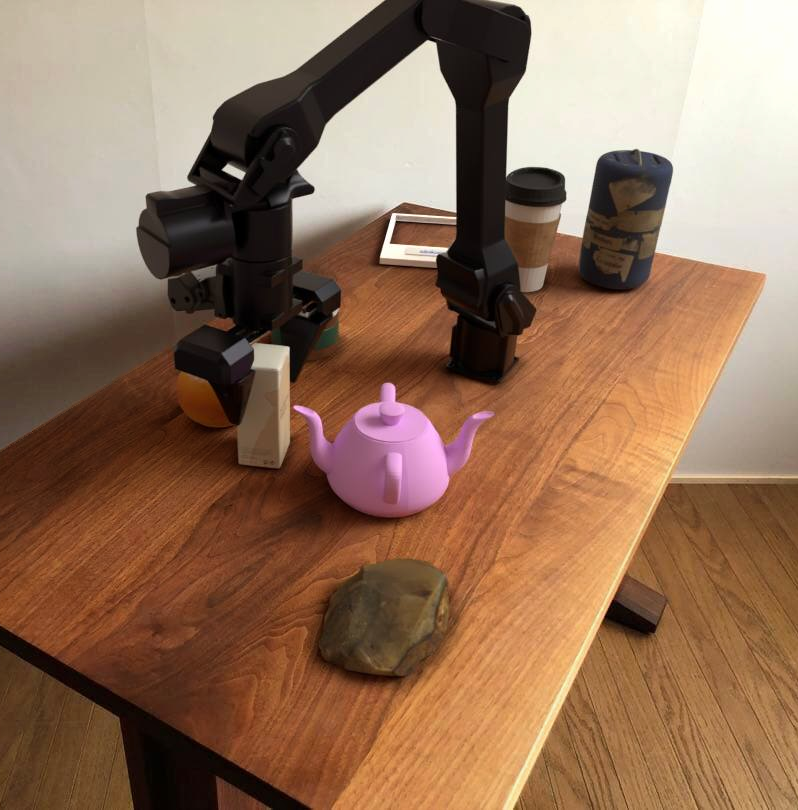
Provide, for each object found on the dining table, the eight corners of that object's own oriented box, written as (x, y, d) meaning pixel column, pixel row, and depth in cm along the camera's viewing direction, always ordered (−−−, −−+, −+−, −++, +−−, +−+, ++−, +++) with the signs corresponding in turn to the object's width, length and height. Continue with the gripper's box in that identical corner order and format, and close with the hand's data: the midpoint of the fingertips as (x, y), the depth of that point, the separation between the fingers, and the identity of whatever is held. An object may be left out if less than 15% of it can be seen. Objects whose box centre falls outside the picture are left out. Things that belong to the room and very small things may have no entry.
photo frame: (379, 256, 129) (392, 212, 144) (379, 263, 130) (392, 218, 145) (484, 264, 127) (486, 218, 142) (483, 271, 128) (485, 225, 143)
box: (279, 470, 88) (278, 371, 82) (236, 465, 89) (232, 366, 83) (291, 440, 93) (290, 344, 87) (250, 435, 93) (246, 340, 87)
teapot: (292, 483, 87) (292, 404, 82) (397, 432, 94) (403, 357, 89) (378, 548, 79) (383, 464, 74) (485, 487, 86) (496, 408, 81)
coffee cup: (561, 279, 126) (578, 172, 118) (539, 302, 120) (556, 191, 112) (503, 266, 130) (516, 161, 122) (479, 287, 124) (492, 179, 116)
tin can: (350, 340, 111) (352, 303, 108) (314, 368, 105) (315, 329, 102) (295, 323, 115) (295, 287, 112) (257, 349, 109) (256, 311, 106)
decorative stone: (425, 698, 66) (429, 665, 64) (303, 662, 68) (303, 629, 67) (456, 600, 74) (460, 568, 72) (345, 572, 77) (347, 540, 75)
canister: (571, 287, 123) (594, 156, 114) (580, 261, 131) (602, 136, 121) (645, 299, 120) (675, 165, 111) (650, 272, 128) (679, 144, 118)
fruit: (288, 385, 95) (241, 329, 92) (242, 445, 91) (192, 389, 88) (241, 389, 102) (196, 337, 98) (197, 446, 98) (148, 393, 94)
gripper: (248, 201, 90) (253, 341, 98) (117, 265, 77) (135, 421, 85) (345, 224, 84) (341, 370, 93) (222, 297, 71) (230, 459, 80)
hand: (264, 401), depth 88 cm, fingers open, 9 cm apart
